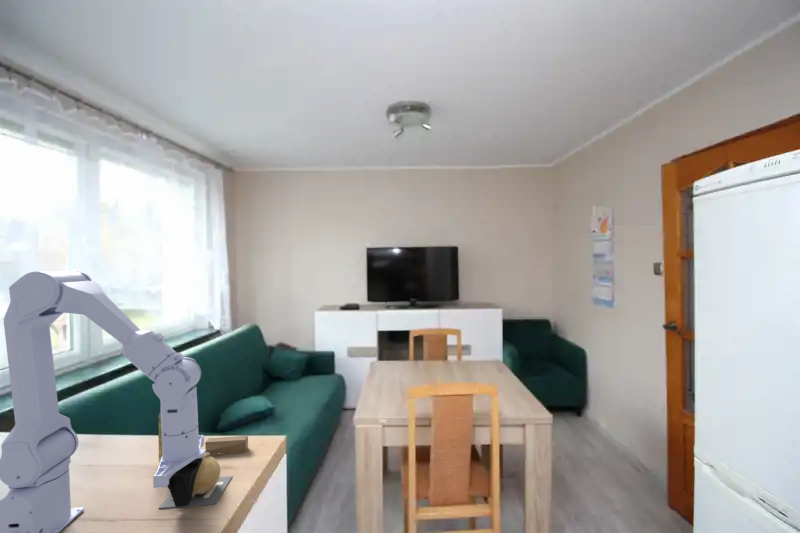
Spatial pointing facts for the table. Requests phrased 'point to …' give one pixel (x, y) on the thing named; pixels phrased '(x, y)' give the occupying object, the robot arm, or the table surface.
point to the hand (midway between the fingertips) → (183, 504)
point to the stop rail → (227, 444)
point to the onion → (206, 475)
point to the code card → (202, 495)
